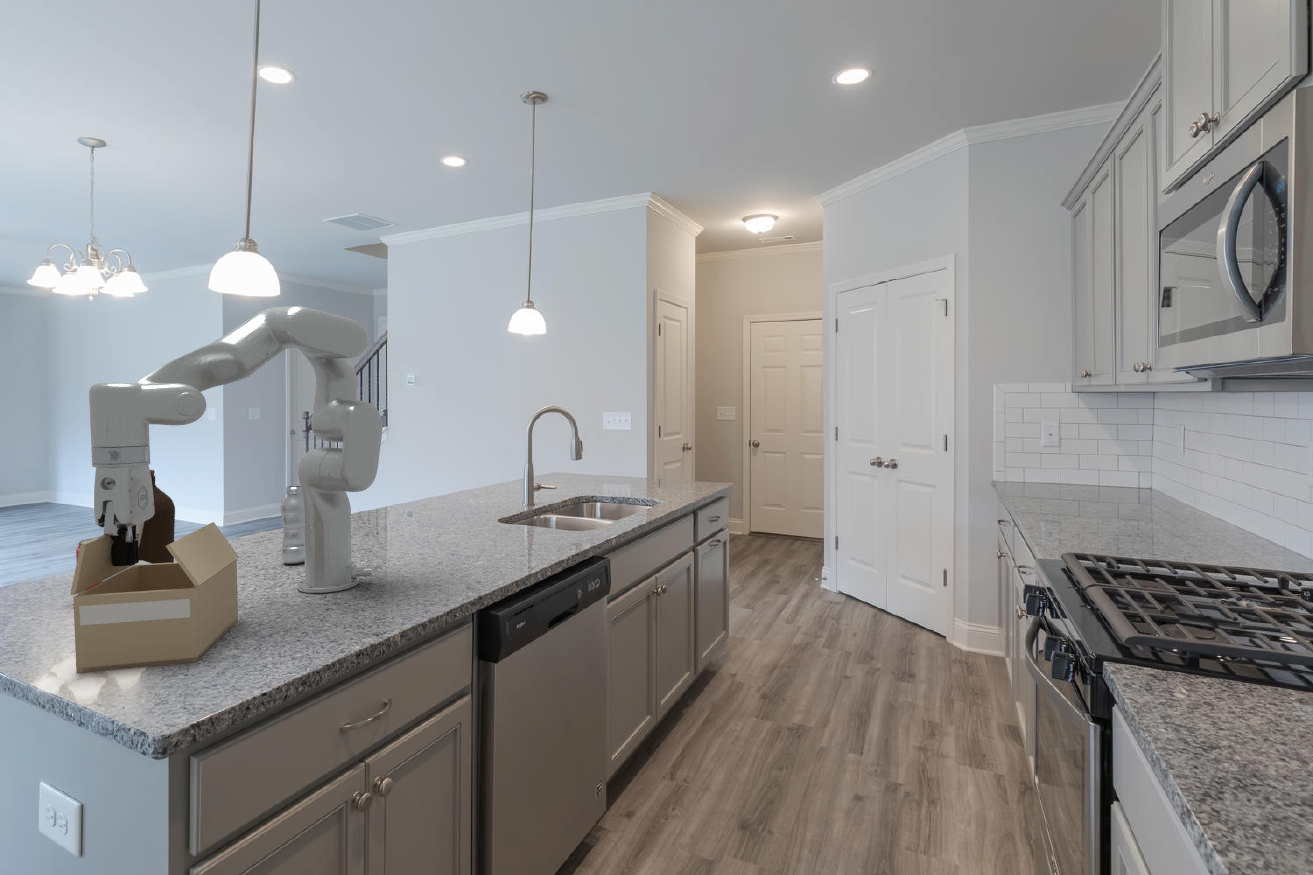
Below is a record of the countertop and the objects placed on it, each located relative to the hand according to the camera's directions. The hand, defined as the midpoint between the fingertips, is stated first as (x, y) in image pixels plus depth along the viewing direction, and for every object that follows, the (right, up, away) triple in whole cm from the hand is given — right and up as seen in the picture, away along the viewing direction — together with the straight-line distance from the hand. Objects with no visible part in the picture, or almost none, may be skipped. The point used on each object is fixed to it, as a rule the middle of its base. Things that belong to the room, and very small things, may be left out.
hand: (125, 564), depth 108 cm
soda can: (-26, -13, +25) cm, 39 cm away
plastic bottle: (-4, -11, +57) cm, 59 cm away
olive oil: (-33, -12, +46) cm, 58 cm away
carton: (+5, -14, +3) cm, 15 cm away
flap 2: (+11, +1, +3) cm, 11 cm away
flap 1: (-2, +2, -1) cm, 3 cm away
